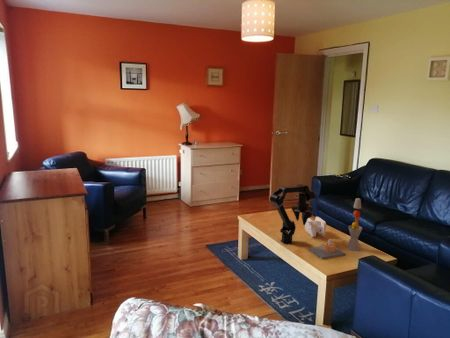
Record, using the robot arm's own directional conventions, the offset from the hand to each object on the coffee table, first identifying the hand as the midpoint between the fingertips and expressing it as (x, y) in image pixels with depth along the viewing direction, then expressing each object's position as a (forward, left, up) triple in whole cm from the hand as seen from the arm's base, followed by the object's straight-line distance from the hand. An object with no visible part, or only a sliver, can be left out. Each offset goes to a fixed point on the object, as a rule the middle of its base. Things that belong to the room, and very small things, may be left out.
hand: (300, 222), depth 252 cm
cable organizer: (+15, +3, -12) cm, 20 cm away
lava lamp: (+25, -27, -12) cm, 39 cm away
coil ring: (+5, -27, -11) cm, 29 cm away
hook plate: (+3, -27, -12) cm, 29 cm away
